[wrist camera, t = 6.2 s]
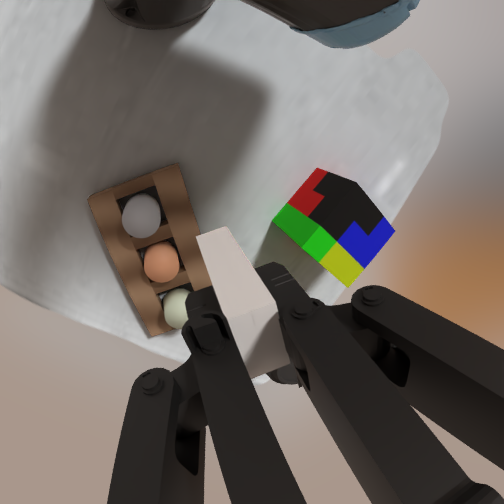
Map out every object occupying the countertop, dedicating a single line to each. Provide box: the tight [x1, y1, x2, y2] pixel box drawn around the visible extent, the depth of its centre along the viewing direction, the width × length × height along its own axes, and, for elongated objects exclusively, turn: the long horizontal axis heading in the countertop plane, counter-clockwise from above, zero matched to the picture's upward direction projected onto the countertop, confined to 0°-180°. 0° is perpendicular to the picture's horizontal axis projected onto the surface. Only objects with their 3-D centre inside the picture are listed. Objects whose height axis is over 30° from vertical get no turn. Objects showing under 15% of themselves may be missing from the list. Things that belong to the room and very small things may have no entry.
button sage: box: [163, 288, 191, 329], centre depth 42 cm, size 4×4×3 cm
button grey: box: [122, 193, 161, 238], centre depth 35 cm, size 4×4×3 cm
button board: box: [87, 163, 212, 336], centre depth 41 cm, size 22×12×2 cm, turn 14°
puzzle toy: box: [272, 168, 395, 287], centre depth 42 cm, size 10×10×10 cm
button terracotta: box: [144, 240, 179, 283], centre depth 40 cm, size 4×4×3 cm
